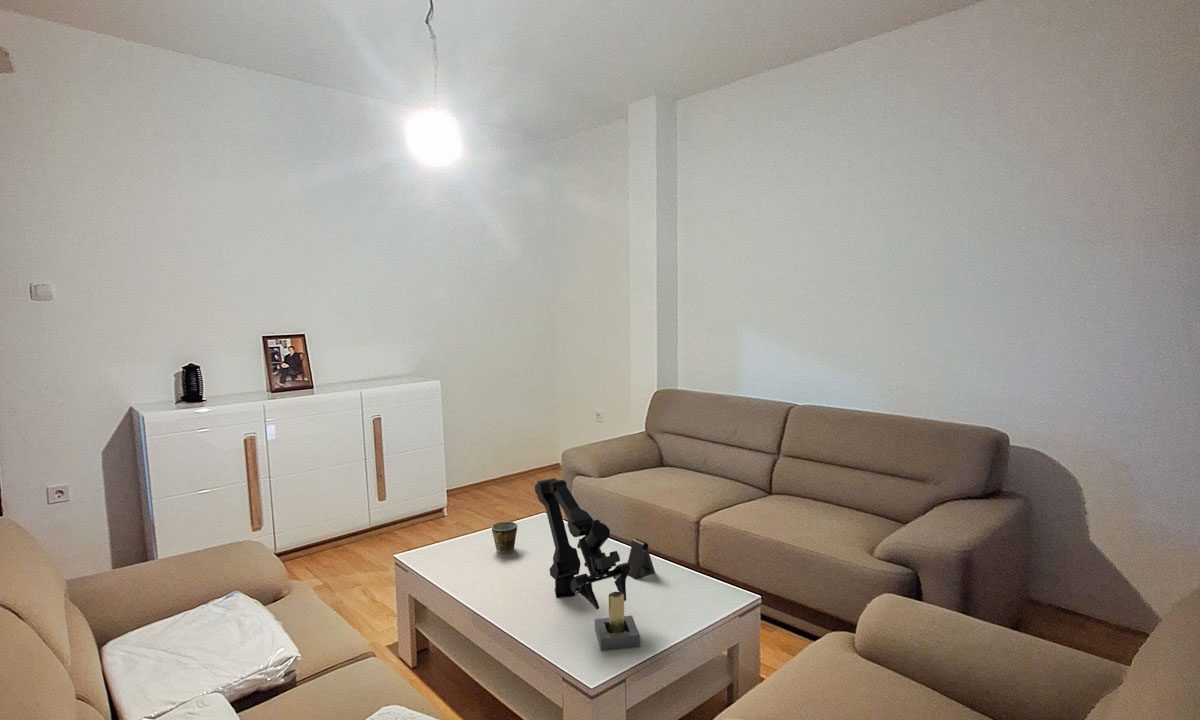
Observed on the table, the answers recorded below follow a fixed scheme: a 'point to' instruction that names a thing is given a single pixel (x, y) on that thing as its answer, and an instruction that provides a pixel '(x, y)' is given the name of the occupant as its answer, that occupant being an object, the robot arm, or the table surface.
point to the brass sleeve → (616, 612)
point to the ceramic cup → (504, 536)
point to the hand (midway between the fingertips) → (611, 604)
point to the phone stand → (640, 559)
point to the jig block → (617, 635)
